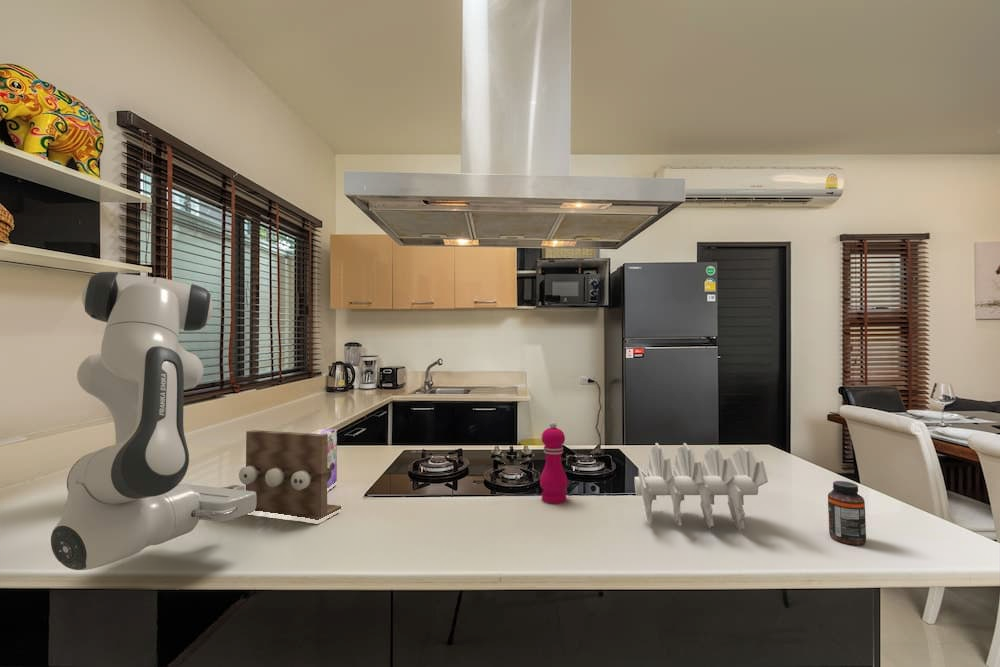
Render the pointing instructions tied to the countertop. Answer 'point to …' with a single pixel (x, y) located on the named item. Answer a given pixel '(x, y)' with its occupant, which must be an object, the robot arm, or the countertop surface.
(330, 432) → the candy box
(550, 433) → the pepper mill
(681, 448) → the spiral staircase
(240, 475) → the one dot button
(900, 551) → the countertop surface
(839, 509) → the supplement bottle
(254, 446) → the button panel
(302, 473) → the two dot button
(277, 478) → the plain button
